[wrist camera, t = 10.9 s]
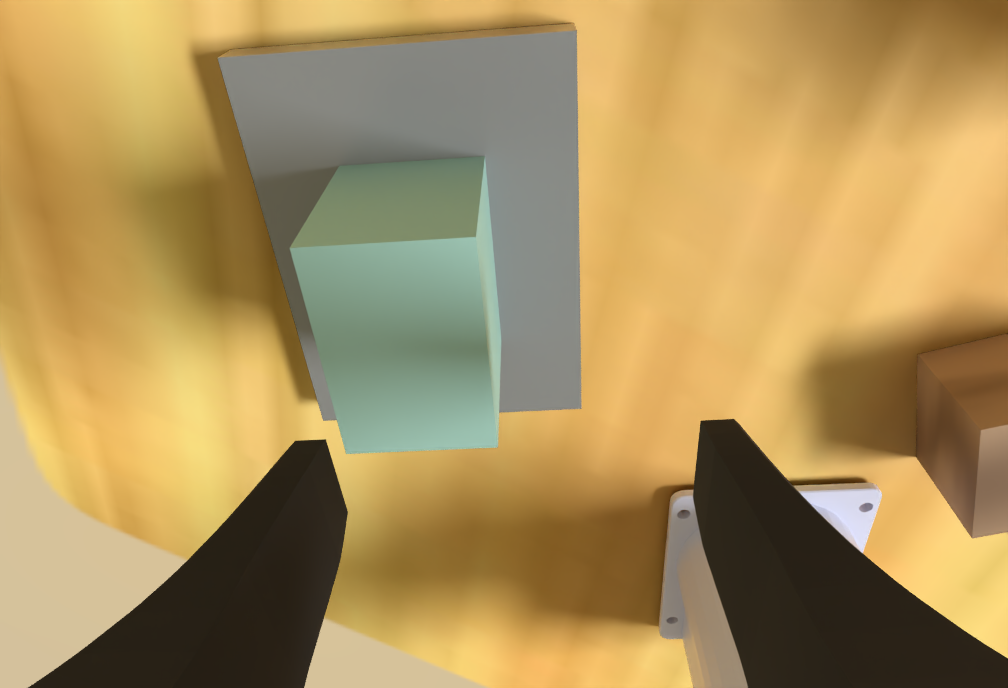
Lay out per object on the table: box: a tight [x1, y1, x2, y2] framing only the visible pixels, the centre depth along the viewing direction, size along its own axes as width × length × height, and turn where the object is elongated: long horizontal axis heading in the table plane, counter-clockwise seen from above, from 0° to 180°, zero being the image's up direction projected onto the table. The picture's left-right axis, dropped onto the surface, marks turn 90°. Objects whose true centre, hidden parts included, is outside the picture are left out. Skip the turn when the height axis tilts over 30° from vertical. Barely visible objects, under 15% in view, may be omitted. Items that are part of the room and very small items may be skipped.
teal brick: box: [290, 156, 501, 454], centre depth 18 cm, size 6×4×5 cm, turn 4°
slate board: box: [218, 23, 581, 421], centre depth 21 cm, size 12×9×1 cm
